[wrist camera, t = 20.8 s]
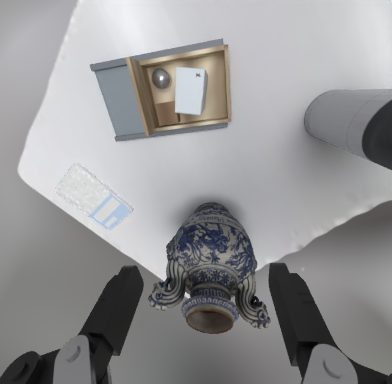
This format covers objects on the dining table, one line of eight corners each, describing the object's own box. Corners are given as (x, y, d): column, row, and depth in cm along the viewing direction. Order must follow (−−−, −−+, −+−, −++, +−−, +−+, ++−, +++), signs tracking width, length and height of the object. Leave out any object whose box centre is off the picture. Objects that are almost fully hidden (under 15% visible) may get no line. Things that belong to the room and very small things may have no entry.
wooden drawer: (226, 49, 33) (230, 36, 26) (229, 118, 39) (233, 125, 31) (144, 65, 35) (125, 57, 28) (158, 128, 41) (146, 136, 33)
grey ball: (169, 67, 35) (165, 65, 32) (173, 86, 36) (171, 85, 33) (153, 72, 35) (149, 70, 33) (158, 90, 37) (155, 90, 34)
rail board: (222, 41, 34) (222, 38, 32) (226, 125, 41) (227, 127, 39) (95, 66, 37) (89, 64, 35) (120, 139, 44) (115, 141, 42)
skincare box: (186, 72, 35) (175, 64, 24) (208, 75, 35) (206, 67, 24) (184, 107, 38) (173, 113, 27) (205, 109, 38) (201, 115, 27)
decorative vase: (258, 198, 49) (300, 306, 25) (237, 245, 58) (253, 357, 34) (181, 182, 49) (147, 275, 24) (173, 232, 58) (142, 335, 34)
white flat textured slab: (77, 160, 49) (73, 162, 47) (135, 207, 55) (133, 211, 53) (56, 188, 54) (51, 191, 52) (111, 228, 60) (108, 232, 58)
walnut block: (177, 100, 37) (174, 101, 35) (180, 120, 39) (178, 123, 37) (158, 103, 38) (154, 104, 35) (163, 123, 40) (159, 125, 37)
